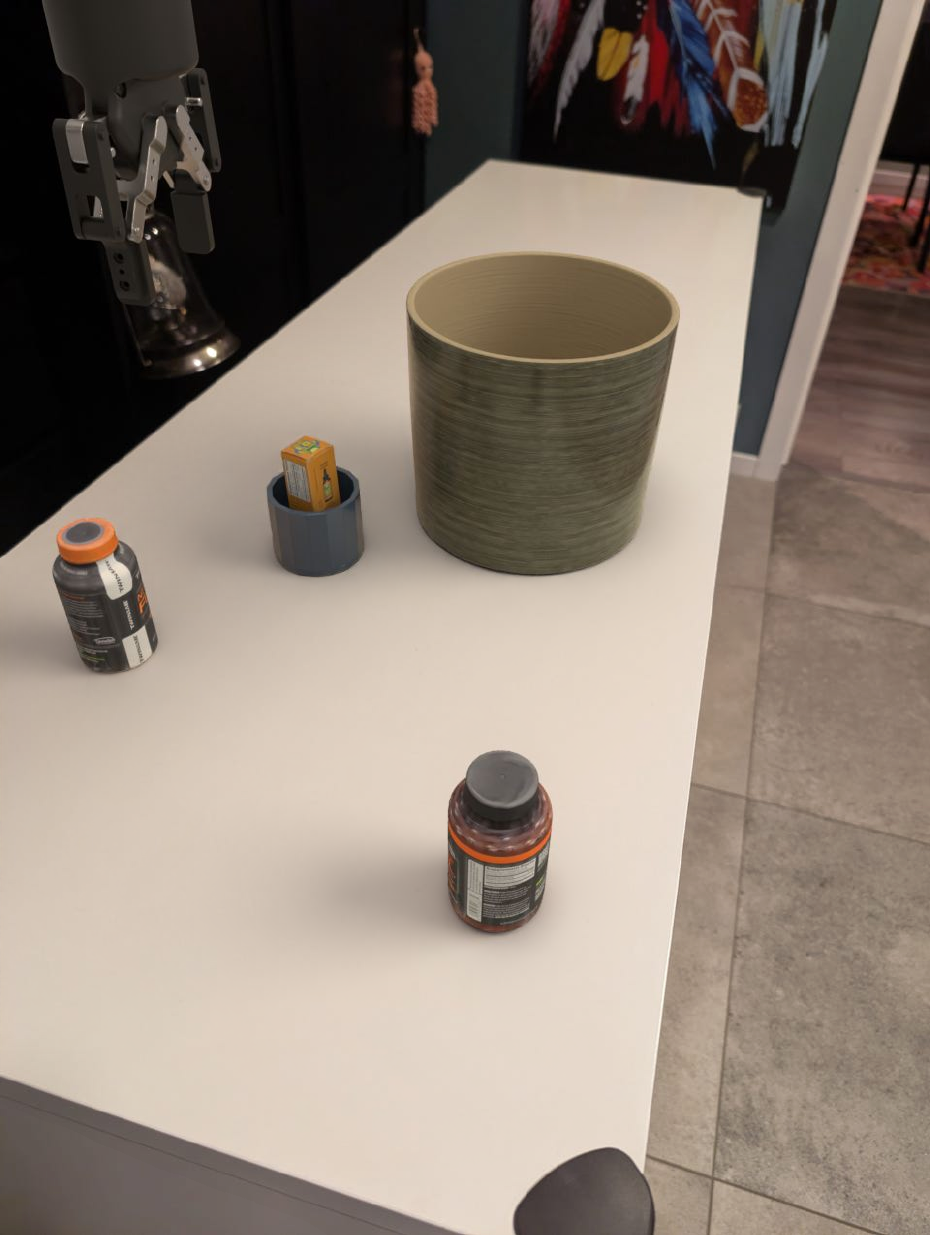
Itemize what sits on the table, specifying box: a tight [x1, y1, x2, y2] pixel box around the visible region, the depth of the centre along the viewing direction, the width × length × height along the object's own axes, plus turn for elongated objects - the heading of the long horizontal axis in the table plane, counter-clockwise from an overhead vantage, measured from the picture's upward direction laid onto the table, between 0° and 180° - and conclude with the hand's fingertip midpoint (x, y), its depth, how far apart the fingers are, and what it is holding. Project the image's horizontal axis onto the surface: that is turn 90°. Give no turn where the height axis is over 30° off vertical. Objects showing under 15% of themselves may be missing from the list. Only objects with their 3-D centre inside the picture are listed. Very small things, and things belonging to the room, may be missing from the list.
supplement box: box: [280, 435, 341, 512], centre depth 82 cm, size 3×3×10 cm
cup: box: [266, 465, 365, 577], centre depth 83 cm, size 8×8×6 cm
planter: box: [405, 250, 681, 575], centre depth 84 cm, size 22×22×20 cm
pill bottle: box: [51, 517, 159, 673], centre depth 72 cm, size 6×6×11 cm
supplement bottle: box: [447, 749, 554, 933], centre depth 56 cm, size 6×6×11 cm
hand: (169, 276), depth 60 cm, fingers open, 8 cm apart
